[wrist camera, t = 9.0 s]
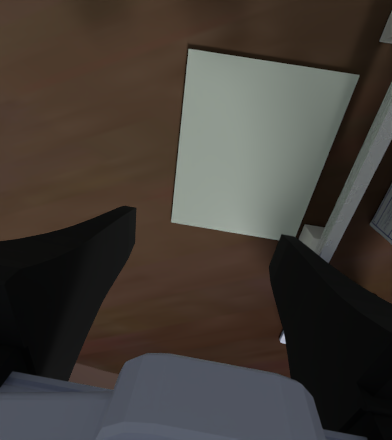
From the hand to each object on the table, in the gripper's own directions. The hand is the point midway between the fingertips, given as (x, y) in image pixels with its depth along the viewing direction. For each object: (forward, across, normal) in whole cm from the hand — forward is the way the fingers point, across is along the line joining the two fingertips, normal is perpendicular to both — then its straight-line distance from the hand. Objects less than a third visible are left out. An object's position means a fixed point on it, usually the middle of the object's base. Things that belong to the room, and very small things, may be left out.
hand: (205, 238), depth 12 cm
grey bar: (+8, -10, -4) cm, 14 cm away
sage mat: (+10, -3, -2) cm, 11 cm away
